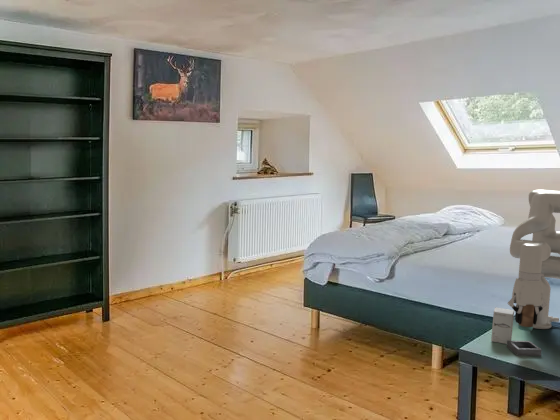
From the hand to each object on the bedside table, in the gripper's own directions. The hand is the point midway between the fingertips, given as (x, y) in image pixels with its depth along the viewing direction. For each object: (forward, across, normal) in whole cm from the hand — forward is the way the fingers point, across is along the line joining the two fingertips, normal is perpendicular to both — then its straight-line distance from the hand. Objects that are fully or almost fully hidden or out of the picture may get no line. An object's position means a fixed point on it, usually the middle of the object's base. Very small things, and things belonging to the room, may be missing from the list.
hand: (525, 322), depth 203 cm
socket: (+11, 0, 0) cm, 11 cm away
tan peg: (+2, 0, 0) cm, 2 cm away
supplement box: (+12, +3, -12) cm, 17 cm away
